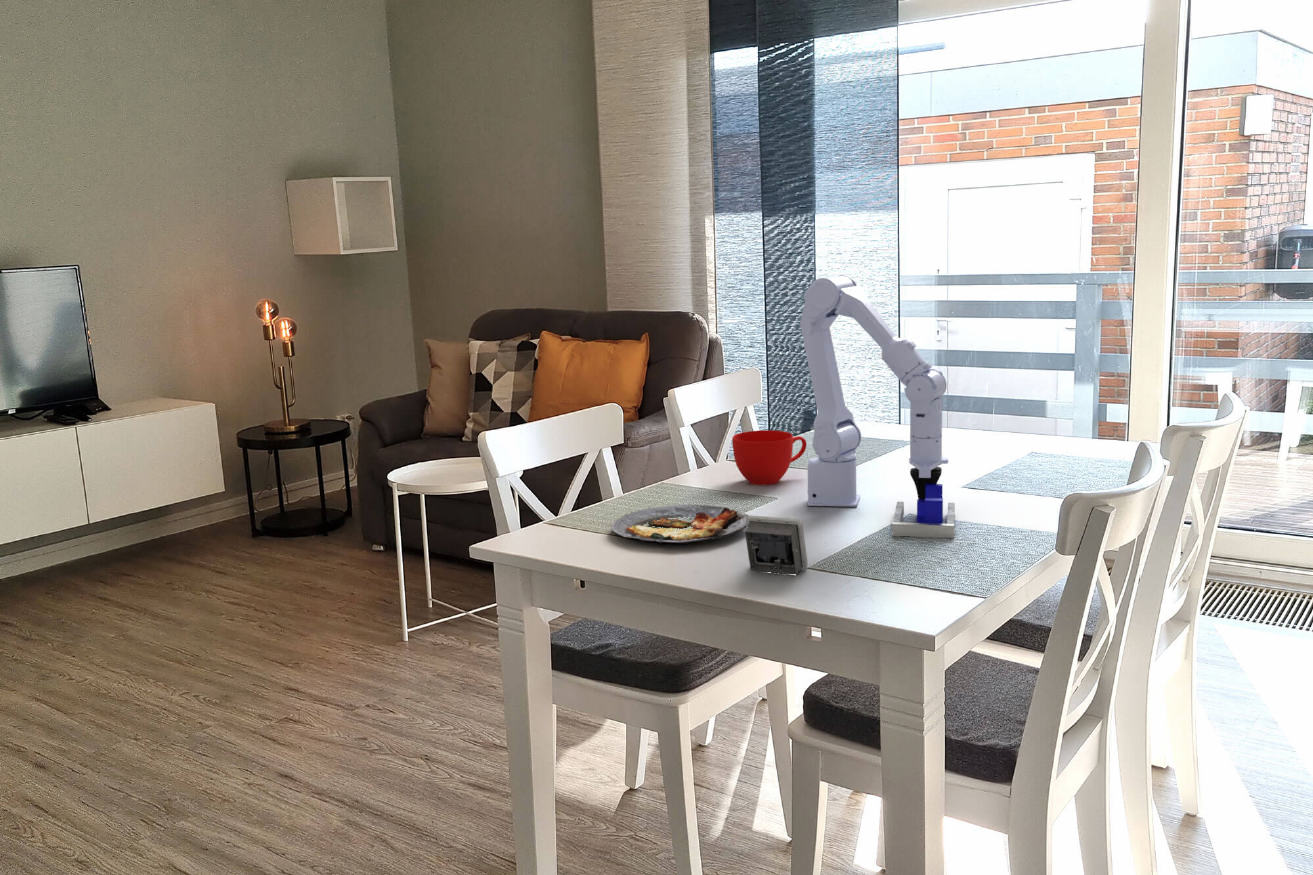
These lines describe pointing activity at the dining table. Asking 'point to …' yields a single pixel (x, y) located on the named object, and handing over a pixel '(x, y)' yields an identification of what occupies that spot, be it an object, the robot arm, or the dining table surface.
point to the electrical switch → (775, 544)
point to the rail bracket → (923, 525)
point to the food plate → (680, 523)
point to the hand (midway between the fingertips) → (925, 506)
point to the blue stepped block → (931, 505)
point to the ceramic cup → (765, 455)
